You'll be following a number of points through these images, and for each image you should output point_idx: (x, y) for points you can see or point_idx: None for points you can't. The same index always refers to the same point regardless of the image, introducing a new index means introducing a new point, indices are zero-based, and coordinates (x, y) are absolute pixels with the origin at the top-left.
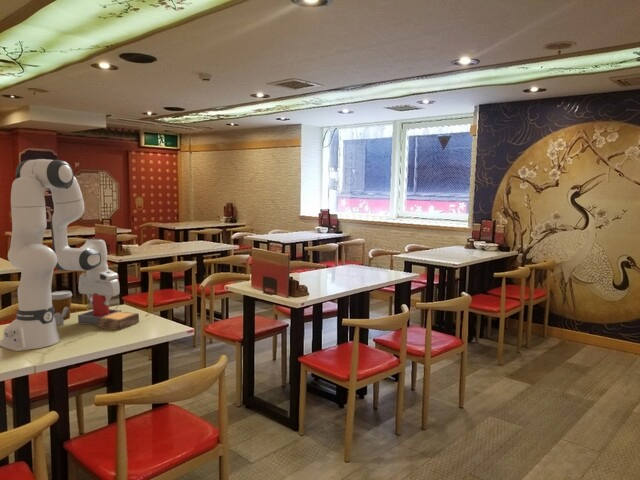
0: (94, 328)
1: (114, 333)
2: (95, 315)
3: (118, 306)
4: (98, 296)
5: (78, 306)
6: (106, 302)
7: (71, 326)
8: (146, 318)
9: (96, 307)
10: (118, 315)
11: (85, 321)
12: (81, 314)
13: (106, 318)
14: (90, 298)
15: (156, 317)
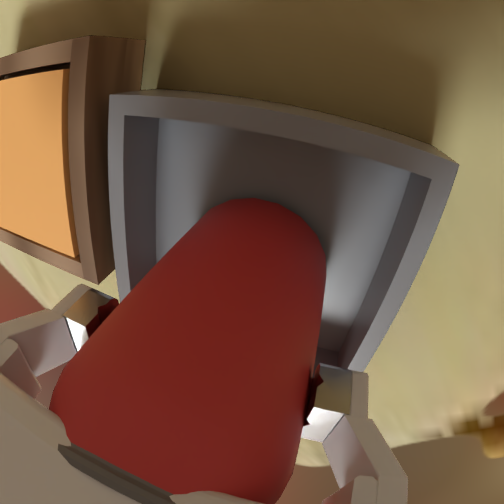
0: (159, 6)
1: (15, 3)
2: (264, 214)
3: (321, 461)
4: (72, 395)
5: (500, 447)
6: (58, 305)
7: (425, 26)
8: (45, 278)
9: (204, 258)
10: (12, 163)
11: (341, 118)
12: (431, 199)
13: (31, 63)
14: (351, 448)
15: (30, 291)
